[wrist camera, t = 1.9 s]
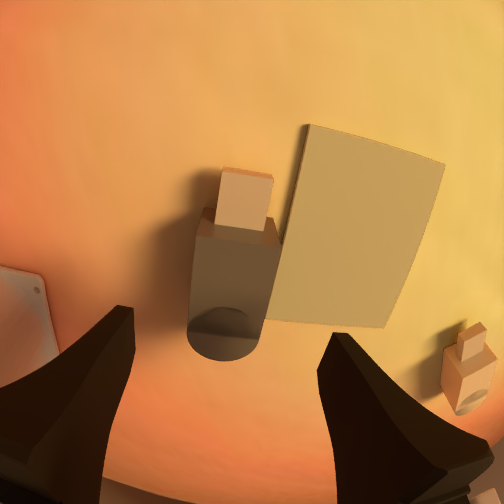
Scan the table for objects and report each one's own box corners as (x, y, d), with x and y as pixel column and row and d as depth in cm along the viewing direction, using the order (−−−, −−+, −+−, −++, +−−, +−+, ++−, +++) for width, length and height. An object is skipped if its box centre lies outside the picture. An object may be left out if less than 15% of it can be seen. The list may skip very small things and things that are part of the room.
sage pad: (382, 324, 20) (384, 328, 20) (264, 314, 19) (265, 319, 19) (441, 163, 15) (445, 164, 15) (308, 124, 14) (310, 124, 14)
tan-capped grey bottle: (249, 323, 19) (252, 364, 16) (191, 315, 19) (185, 356, 16) (282, 172, 15) (294, 191, 12) (210, 160, 15) (203, 177, 12)
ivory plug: (468, 378, 24) (483, 404, 21) (438, 394, 25) (452, 420, 22) (479, 311, 20) (503, 338, 17) (445, 328, 21) (466, 358, 18)
